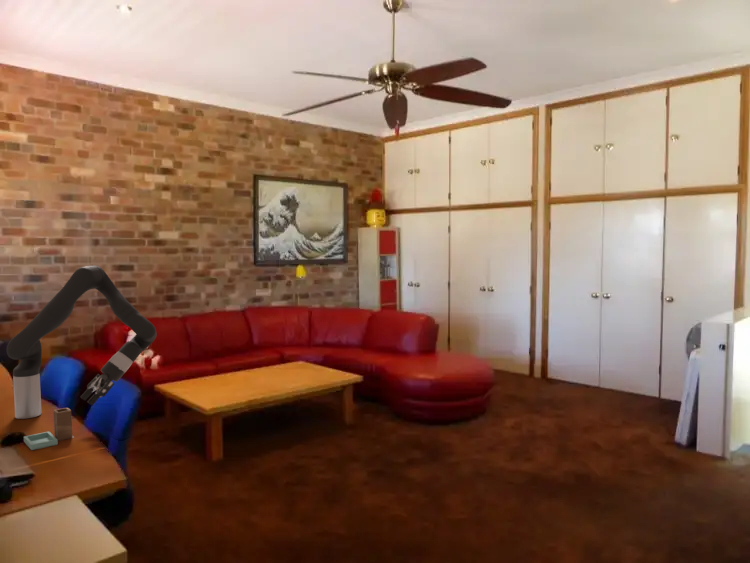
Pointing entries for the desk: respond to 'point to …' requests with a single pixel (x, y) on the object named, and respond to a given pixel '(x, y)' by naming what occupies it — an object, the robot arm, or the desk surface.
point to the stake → (67, 438)
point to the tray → (40, 440)
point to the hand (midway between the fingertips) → (85, 401)
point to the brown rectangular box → (62, 423)
